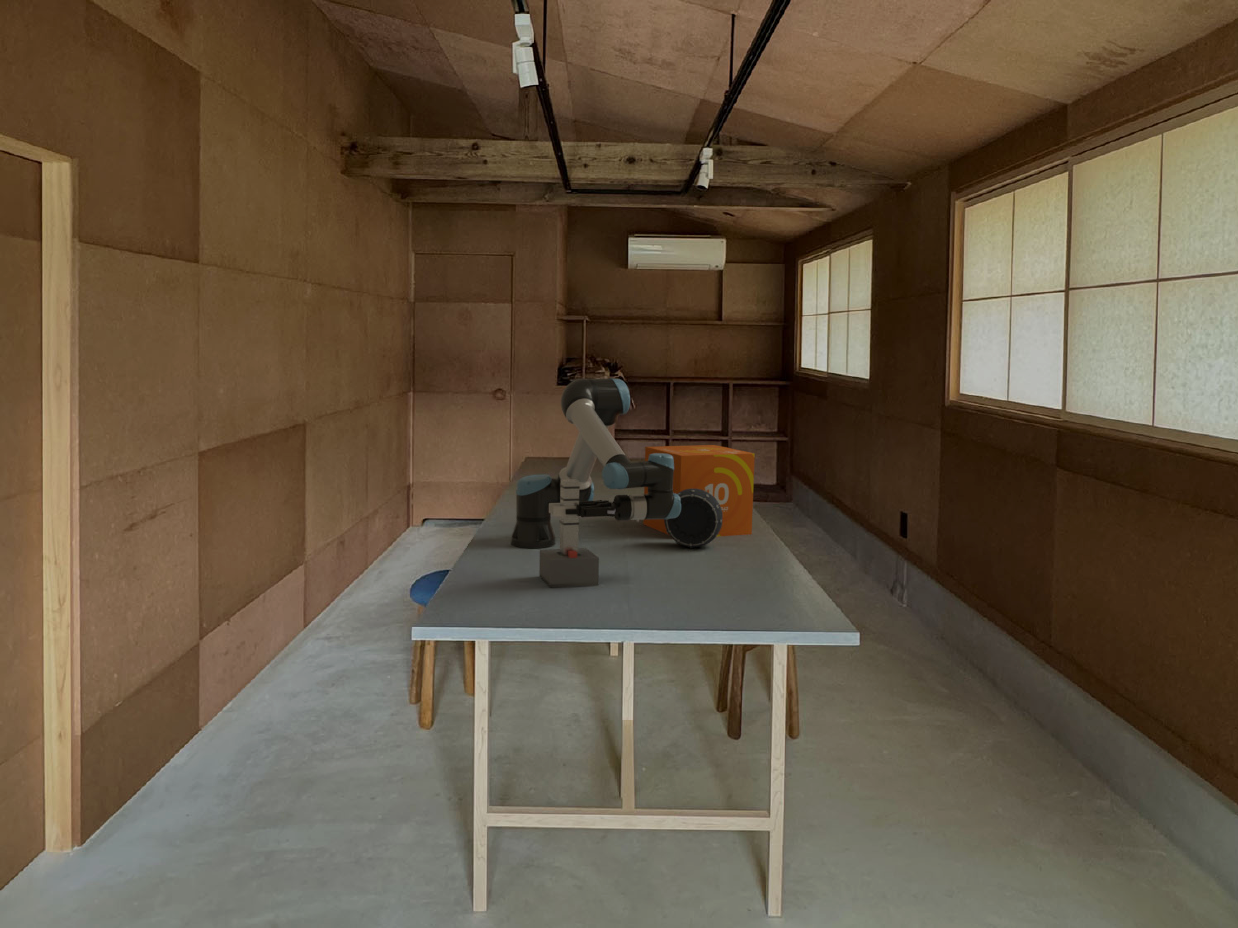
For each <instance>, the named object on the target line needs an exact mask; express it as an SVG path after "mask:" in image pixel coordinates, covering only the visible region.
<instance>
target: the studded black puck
mask: <svg viewBox="0 0 1238 928" xmlns="http://www.w3.org/2000/svg"><path fill="white" fill-rule="evenodd" d="M677 494H678V495H679V497H680V500H681V512H680V514H679V516H678V517H676V518H671V519H664V523H665V527H666V532H667V533H668V534H669V535H668V534H667V535H668V536H670V538H671V539H672V540H674V541H675V543H676V545H682V546H684V547H688V548H690V549H693V548H700V547H703V546H707V545H708V544H710V543H711V542H713V540H715V538H716V536H717V535H718V533H719V532H720V529H721V527H722V517H723V513H722V509H721V507H720V505H719V503H718V501H717V500H716V498H715V497H714V496H712V495H711V494H710V493H708V492H706V491H704V490H701V489H686V490H683V491H681V492H679V493H677Z"/></svg>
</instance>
